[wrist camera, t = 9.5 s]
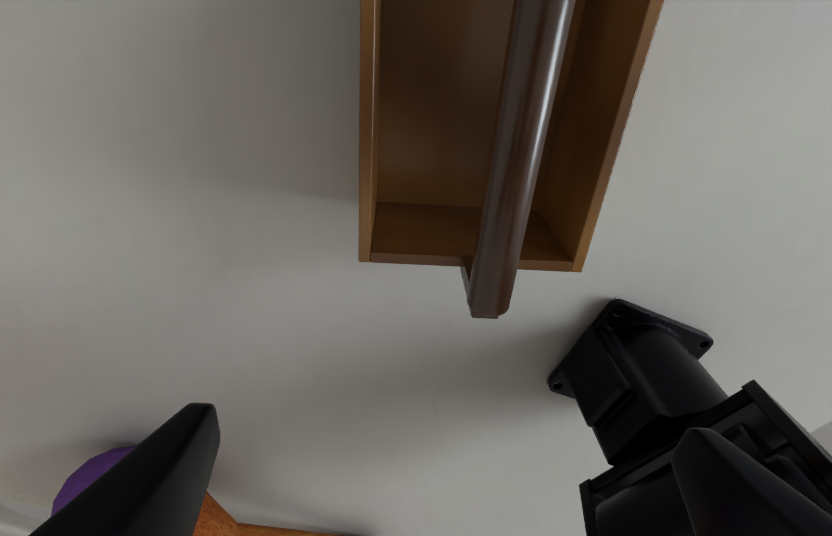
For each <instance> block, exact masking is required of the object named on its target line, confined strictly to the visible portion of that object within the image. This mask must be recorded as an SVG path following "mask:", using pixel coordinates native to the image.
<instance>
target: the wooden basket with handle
mask: <svg viewBox="0 0 832 536" xmlns="http://www.w3.org/2000/svg"><path fill="white" fill-rule="evenodd" d="M663 3H664V0H360V113H359V262H370V261H371V262H375V263H396V264H418V265H439V266H460V267H461V273H462V278H463V282H464V287H465V291H466V295H467V303H468V305H469V308H470V313H471V317H472V318H490V319H497V318H498V316H499V315H502V314H504V313H505V312H506V311H507V310H508V308H509V305H510V300H511V295H512V291H513V286H514V282H515V277H516V273H517V269H523V270H544V271H565V272H570V271H571V272H582V268H583V265H584V262H585V259H586V255H587V252H588V249H589V246H590V242H591V239H592V236H593V232H594V229H595V226H596V223H597V219H598V216H599V213H600V210H601V206H602V203H603V200H604V196H605V193H606V190H607V187H608V183H609V180H610V177H611V173H612V170H613V167H614V164H615V160H616V157H617V154H618V151H619V147H620V144H621V141H622V137H623V134H624V131H625V128H626V124H627V121H628V118H629V114H630V111H631V108H632V105H633V101H634V98H635V95H636V92H637V88H638V85H639V82H640V78H641V75H642V72H643V69H644V65H645V62H646V59H647V55H648V52H649V49H650V46H651V42H652V39H653V36H654V33H655V29H656V26H657V23H658V19H659V16H660V13H661V10H662V6H663Z"/></svg>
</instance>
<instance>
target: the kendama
mask: <svg viewBox="0 0 832 536" xmlns="http://www.w3.org/2000/svg"><path fill="white" fill-rule="evenodd" d="M135 447H136V446H134V447H123V448H114V449H112V450H109V451H107V452H105V453H102V454H100V455H98V456H96V457H93V458H91V459H89V460H88V461H87V462H86V463H84V464H83V465H82V466H81V467H80V468H79V469H78V470H76V471H75V472H74V473H73V474H72V475H71V476H69V477H68V478H67V480H66V482H65V483H64V485H63V487H62V488H61V490H60V492H59V493H58V495H57V497H56V498H55V500H54V502H53V508H52V514H51V517H52V516H53V515H54V514H55V513H56V512H58V511H59V510H60V509H61V508H62V507H64V506H65V505H66V504H67V503H69V502H70V501H71V500H72V499H73V498H75V497H76V496H77V495H78V494H79V493H81V492H82V491H83V490H84V489H85V488H87V487H88V486H89V485H90V484H92V483H93V482H94V481H95V480H96V479H98V478H99V477H100V476H101V475H102V474H104V473H105V472H106V471H107V470H109V469H110V468H111V467H112V466H113V465H115V464H116V463H117V462H118V461H119V460H121V459H122V458H123V457H124V456H125V455H127V454H128V453H129V452H130V451H132V450H133V449H134V448H135ZM193 536H341V535H333V534H325V533H317V532H309V531H301V530H293V529H285V528H276V527H268V526H260V525H252V524H244V523H237V522H236V521H235V520H234V519H233V518H232V517H231V516H230V515H229V514H228V513H227V512H226V511H225V510H224V509H223V508H222V507H221V506H220V505H219V504H218V503H217V502H216V501H215V500H214V499H213V498H212V497H211V496H210V495H209V494H208V493H207V492H206V493H205V496H204V500H203V503H202V507H201V510H200V513H199V517H198V520H197V523H196V527H195V530H194V533H193Z"/></svg>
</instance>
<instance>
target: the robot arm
mask: <svg viewBox="0 0 832 536" xmlns="http://www.w3.org/2000/svg"><path fill="white" fill-rule="evenodd" d="M620 307H621V308H620ZM617 308H620V309H619V310H617V311H615V310H616V309H617ZM712 345H713V339H712V338H711V337H710V336H709V335H708V334H707V333H705V332H703V331H700V330H698V329H695V328H693V327H690V326H688V325H685V324H683V323H680V322H678V321H675V320H672V319H670V318H667V317H665V316H662V315H660V314H657V313H655V312H652V311H650V310H647V309H645V308H642V307H640V306H637V305H635V304H632V303H630V302H627V301H625V300H622V299H614V300H612V301H611V302H609V303H608V304H607V306H606V307H605V308H604V309H603V311H602V312H601V313H600V314H599V316H598V317H597V318H596V319H595V321H594V322H593V323H592V324H591V326H590V327H589V328H588V329H587V331H586V332H585V333H584V334H583V336H582V337H581V338H580V339H579V341H578V342H577V343H576V344H575V346H574V347H573V348H572V349H571V351H570V352H569V353H568V354H567V356H566V357H565V358H564V359H563V361H562V362H561V363H560V364H559V366H558V367H557V368H556V369H555V371H554V372H553V373H552V374H551V376H550V377H549V378H548V380H547V384H548V386H549V388H550V390H551V391H553V392H556V393H559V394H562V395H565V396H568V397H571V398H574V399H576V401H577V404H578V406H579V408H580V410H581V413H582V415H583V417H584V419H585V422H586V424H587V425H588V426H589V427H592V429H593V432H594V434H595V436H596V438H597V440H598V442H599V445H600V447H601V449H602V451H603V453H604V456H605V458H606V460H607V462H608V464H610V465H612V466H614V467H612V468H610V469H609V470H607V471H605V472H604V473H602V474H600V475H599V476H597V477H595V478H594V479H592V480H591V479H588V480H586V481H584V482H583V483H581V484H579V488H580V495H581V502H582V508H583V515H584V521H585V528H586V535H587V536H832V456H831V455H830V454H829V453H828V452H827V451H826V450H825V449H824V448H823V447H822V446H821V445H820V444H819V443H818V442H817V441H816V440H815V439H814V438H813V437H812V436H811V435H810V434H809V433H808V432H807V431H806V430H805V429H804V428H803V427H802V426H801V425H800V424H799V423H798V422H797V421H796V420H795V419H794V418H793V417H792V416H791V415H790V414H789V413H788V412H787V411H786V410H785V409H784V408H783V407H782V406H781V405H780V404H779V403H778V402H777V401H776V400H775V399H773V398H772V397H771V396H770V395H769V394H768V393H767V392H766V391H765V390H764V389H763V388H762V387H761V386H760V385H759V384H758V383H757V382H756V381H755V380H754V379H753V380H752V381H750V382H748V383H747V384H745V385H744V386H742V388H743V389H742V390H740V391H739V392H737V393H735V394H734V395H732V396H730V397H728V395H727V394H726V393H725V392H724V391H723V390H722V388H721V387H720V386H719V385H718V384H717V382H716V381H715V380H714V379H713V378H712V377H711V375H710V374H709V373H708V372H707V371H706V369H705V368H704V367H703V366H702V365H701V364H700V362H699V361H698V360H699V359H700V358H701V357H702V356H703V355H704V354H705V353H706V352H707V351H708V350H709V349H710V348H711V346H712ZM558 382H559V383H558ZM556 383H557V384H556ZM219 444H220V429H219V424H218V418H217V413H216V408H215V406H214V405H213V404H210V403H190V404H188V405H186V406H185V407H184V408H182V409H181V410H180V411H179V412H178V413H176V414H175V415H174V416H173V417H171V418H170V419H169V420H168V421H167V422H165V423H164V424H163V425H162V426H161V427H159V428H158V429H157V430H156V431H155V432H153V433H152V434H151V435H150V436H148V437H147V438H146V439H145V440H144V441H142V442H141V443H140V444H139V445H138V446H136V447H135V448H134V449H133V450H132V451H130V452H129V453H128V454H127V455H125V456H124V457H123V458H122V459H121V460H119V461H118V462H117V463H116V464H115V465H113V466H112V467H111V468H110V469H109V470H107V471H106V472H105V473H104V474H102V475H101V476H100V477H99V478H98V479H96V480H95V481H94V482H93V483H92V484H90V485H89V486H88V487H87V488H85V489H84V490H83V491H82V492H81V493H79V494H78V495H77V496H76V497H75V498H73V499H72V500H71V501H70V502H69V503H67V504H66V505H65V506H64V507H62V508H61V509H60V510H59V511H58V512H56V513H55V514H54V515H53V516H52V517H50V518H49V519H48V520H47V521H46V522H44V523H43V524H42V525H41V526H39V527H38V528H37V529H36V530H35V531H33V532H32V533H31V534H30V535H29V536H193V533H194V530H195V527H196V523H197V520H198V517H199V513H200V510H201V507H202V503H203V500H204V496H205V493H206V489H207V486H208V483H209V479H210V476H211V472H212V469H213V465H214V462H215V458H216V455H217V452H218V448H219Z"/></svg>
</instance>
